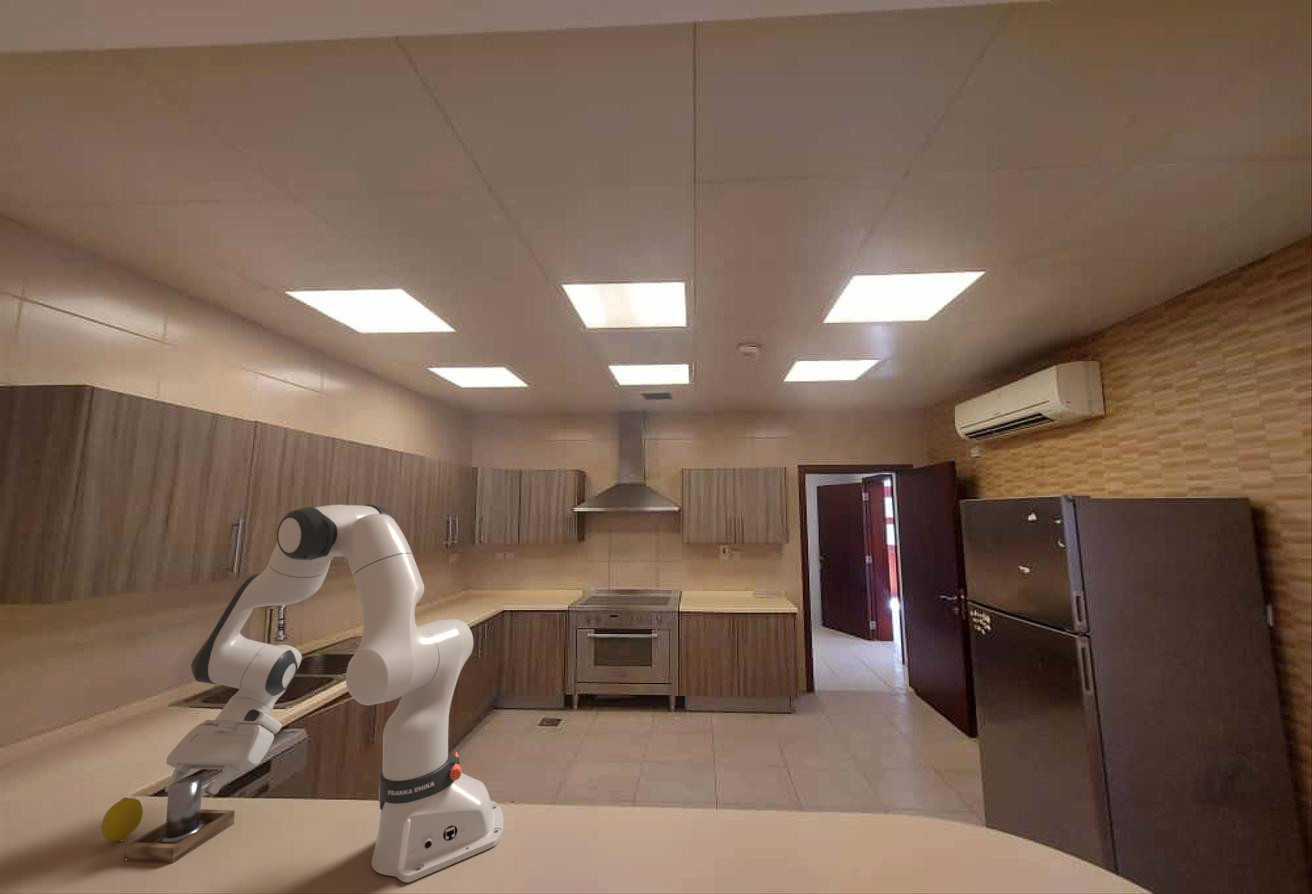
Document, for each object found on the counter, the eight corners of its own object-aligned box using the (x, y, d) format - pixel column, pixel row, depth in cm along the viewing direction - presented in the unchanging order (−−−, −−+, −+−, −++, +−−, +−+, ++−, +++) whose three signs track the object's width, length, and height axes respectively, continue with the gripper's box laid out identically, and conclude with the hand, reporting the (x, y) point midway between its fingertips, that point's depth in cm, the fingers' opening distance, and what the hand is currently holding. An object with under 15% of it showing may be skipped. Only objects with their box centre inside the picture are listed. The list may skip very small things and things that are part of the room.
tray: (234, 823, 98) (234, 810, 99) (172, 863, 88) (173, 848, 88) (189, 821, 100) (190, 808, 100) (123, 860, 89) (124, 845, 90)
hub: (209, 822, 98) (212, 770, 99) (193, 841, 92) (196, 785, 93) (171, 832, 96) (174, 778, 97) (153, 851, 90) (156, 794, 91)
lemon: (95, 846, 94) (98, 802, 95) (135, 829, 99) (138, 787, 100) (105, 854, 91) (108, 809, 92) (146, 836, 96) (148, 793, 97)
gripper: (191, 713, 106) (134, 786, 95) (270, 713, 103) (221, 788, 92) (211, 725, 110) (159, 797, 99) (288, 725, 107) (243, 799, 96)
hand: (189, 793), depth 96 cm, fingers open, 8 cm apart
